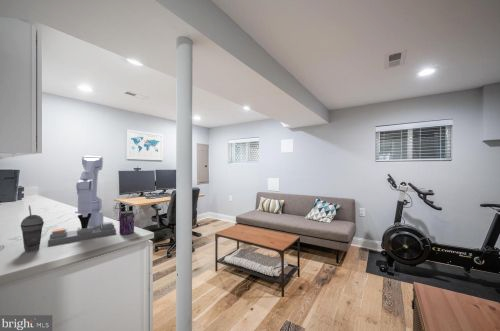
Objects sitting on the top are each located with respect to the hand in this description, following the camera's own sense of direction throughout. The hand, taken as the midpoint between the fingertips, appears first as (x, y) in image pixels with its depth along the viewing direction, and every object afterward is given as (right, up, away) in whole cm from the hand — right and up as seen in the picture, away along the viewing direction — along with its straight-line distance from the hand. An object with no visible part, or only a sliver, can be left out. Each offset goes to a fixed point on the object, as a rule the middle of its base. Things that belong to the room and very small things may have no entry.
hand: (84, 227), depth 109 cm
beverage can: (+19, -5, +6) cm, 21 cm away
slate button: (+8, -1, +7) cm, 10 cm away
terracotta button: (-8, -1, -6) cm, 10 cm away
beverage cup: (-9, -5, -18) cm, 20 cm away
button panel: (0, -5, 0) cm, 4 cm away
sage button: (0, -2, 0) cm, 2 cm away
